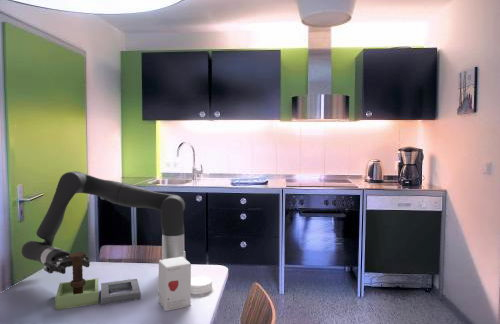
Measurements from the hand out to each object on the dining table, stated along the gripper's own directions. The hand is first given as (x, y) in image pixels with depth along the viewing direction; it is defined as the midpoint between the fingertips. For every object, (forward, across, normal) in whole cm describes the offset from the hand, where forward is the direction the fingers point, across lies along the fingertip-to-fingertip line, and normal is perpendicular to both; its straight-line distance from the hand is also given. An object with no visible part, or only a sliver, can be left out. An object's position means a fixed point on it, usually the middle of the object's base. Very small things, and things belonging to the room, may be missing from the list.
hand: (76, 267), depth 127 cm
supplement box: (+31, +18, +11) cm, 38 cm away
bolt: (+1, 0, +10) cm, 10 cm away
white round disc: (+29, +32, +11) cm, 45 cm away
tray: (+1, 0, +11) cm, 11 cm away
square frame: (+10, +11, +11) cm, 18 cm away
